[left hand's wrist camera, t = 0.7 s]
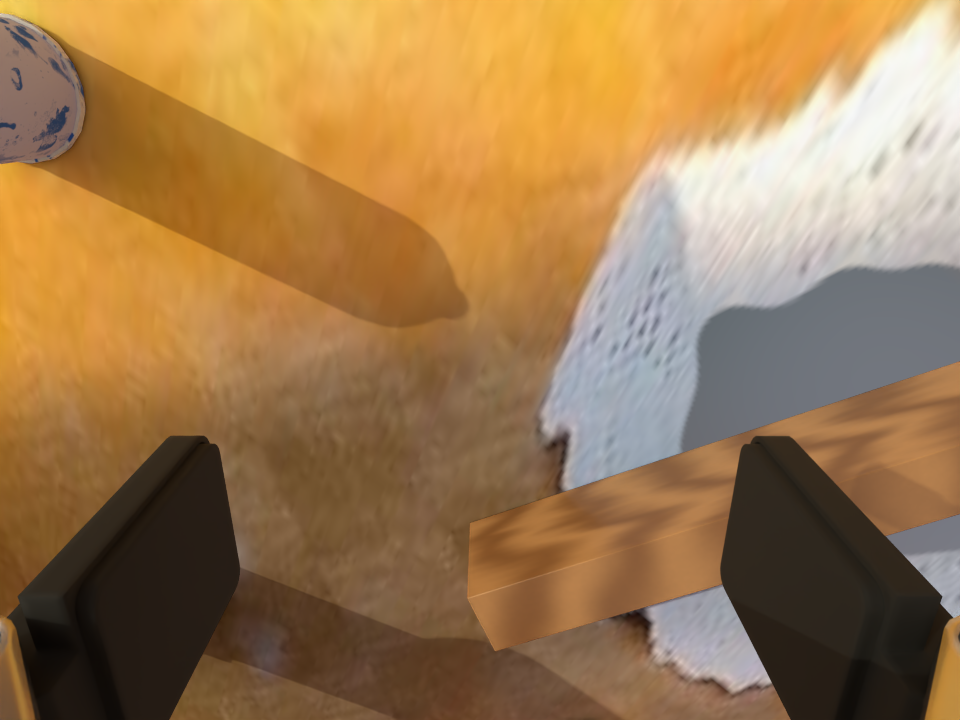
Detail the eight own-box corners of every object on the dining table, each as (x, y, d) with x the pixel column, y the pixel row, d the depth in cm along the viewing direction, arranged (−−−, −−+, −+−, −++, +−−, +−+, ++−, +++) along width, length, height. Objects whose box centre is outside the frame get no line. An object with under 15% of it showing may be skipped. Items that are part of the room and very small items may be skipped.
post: (493, 570, 49) (495, 651, 42) (469, 522, 47) (466, 598, 40) (1425, 276, 39) (1635, 315, 32) (1438, 202, 38) (1661, 226, 31)
